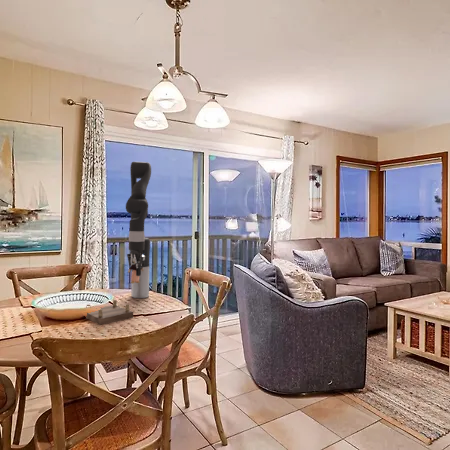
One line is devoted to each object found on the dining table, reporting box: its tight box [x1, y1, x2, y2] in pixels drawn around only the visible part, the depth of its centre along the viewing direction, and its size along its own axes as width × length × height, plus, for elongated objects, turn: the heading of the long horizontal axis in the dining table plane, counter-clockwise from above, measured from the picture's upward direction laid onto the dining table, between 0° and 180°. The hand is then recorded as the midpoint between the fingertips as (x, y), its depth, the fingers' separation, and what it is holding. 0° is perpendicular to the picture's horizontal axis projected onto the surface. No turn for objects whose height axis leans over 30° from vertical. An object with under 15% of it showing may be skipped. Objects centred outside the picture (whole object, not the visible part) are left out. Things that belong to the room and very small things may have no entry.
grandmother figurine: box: [127, 258, 144, 284], centre depth 175 cm, size 8×4×13 cm, turn 131°
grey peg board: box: [85, 299, 134, 326], centre depth 160 cm, size 16×16×6 cm
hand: (136, 275), depth 175 cm, fingers closed on grandmother figurine, 3 cm apart
